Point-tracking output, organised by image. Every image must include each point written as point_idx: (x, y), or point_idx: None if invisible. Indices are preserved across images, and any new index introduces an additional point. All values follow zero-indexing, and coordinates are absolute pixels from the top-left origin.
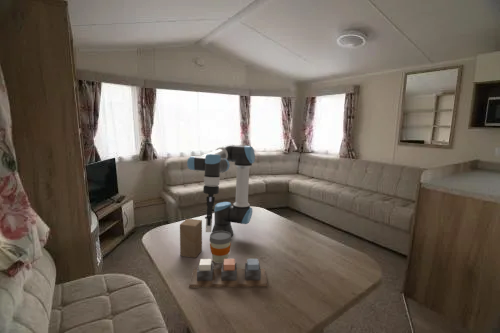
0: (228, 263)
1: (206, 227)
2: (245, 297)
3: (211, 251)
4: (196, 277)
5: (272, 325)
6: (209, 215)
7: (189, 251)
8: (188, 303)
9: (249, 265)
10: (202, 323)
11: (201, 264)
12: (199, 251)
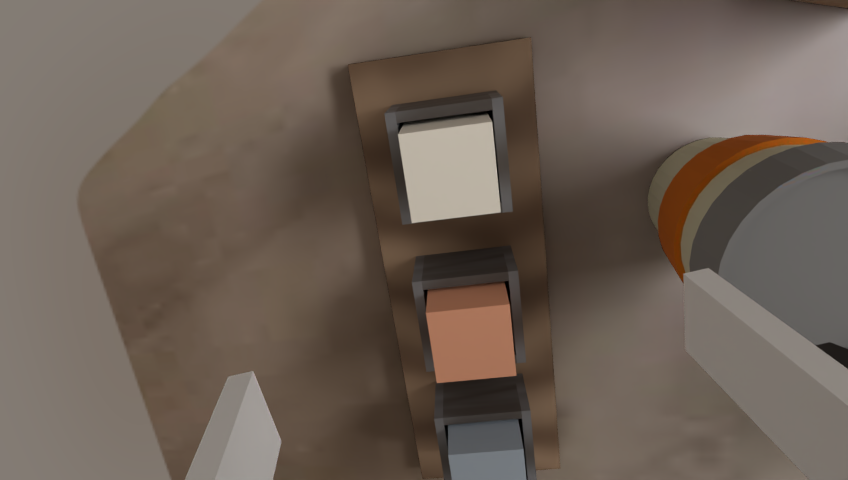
0: (447, 342)
1: (210, 440)
2: (322, 378)
3: (709, 152)
4: (429, 90)
5: (184, 476)
6: (797, 412)
7: None
8: (214, 105)
9: (449, 460)
10: (107, 215)
11: (407, 151)
12: (820, 2)
